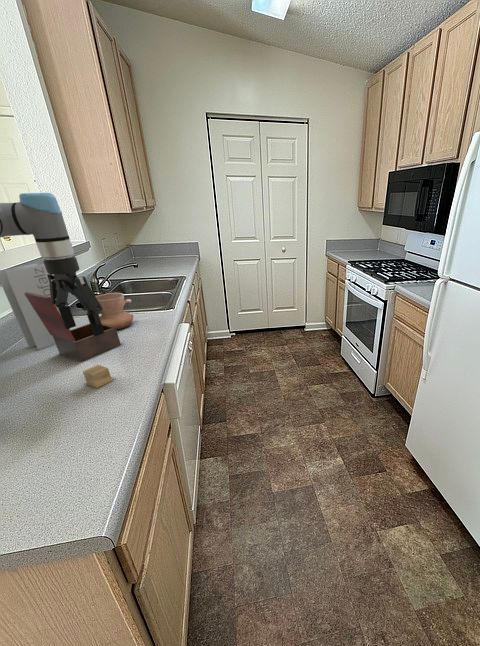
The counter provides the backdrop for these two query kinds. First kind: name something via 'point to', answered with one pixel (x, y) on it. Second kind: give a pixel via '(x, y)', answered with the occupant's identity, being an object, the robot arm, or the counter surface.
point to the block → (97, 376)
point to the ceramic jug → (114, 310)
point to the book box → (88, 342)
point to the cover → (49, 316)
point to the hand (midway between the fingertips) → (84, 331)
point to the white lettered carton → (27, 318)
